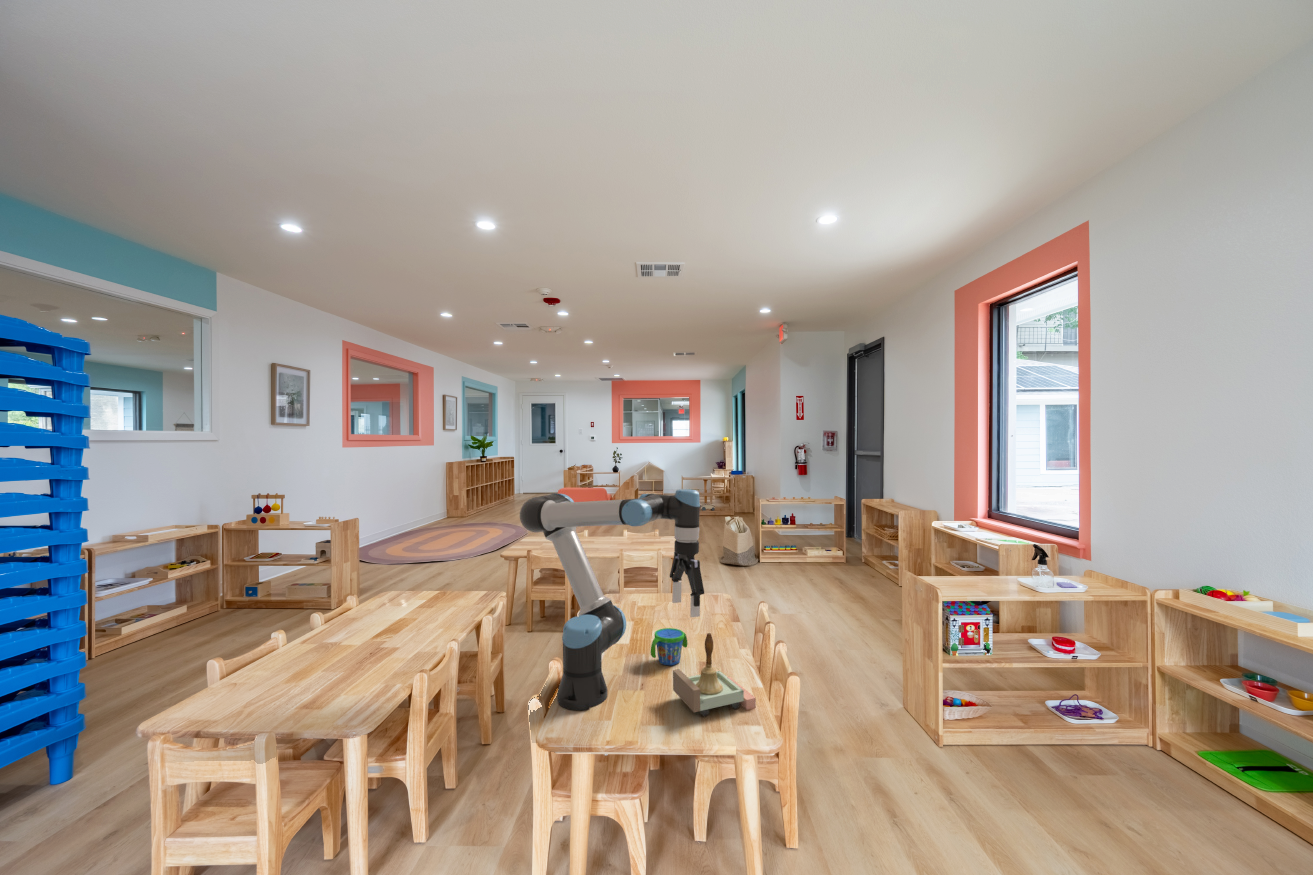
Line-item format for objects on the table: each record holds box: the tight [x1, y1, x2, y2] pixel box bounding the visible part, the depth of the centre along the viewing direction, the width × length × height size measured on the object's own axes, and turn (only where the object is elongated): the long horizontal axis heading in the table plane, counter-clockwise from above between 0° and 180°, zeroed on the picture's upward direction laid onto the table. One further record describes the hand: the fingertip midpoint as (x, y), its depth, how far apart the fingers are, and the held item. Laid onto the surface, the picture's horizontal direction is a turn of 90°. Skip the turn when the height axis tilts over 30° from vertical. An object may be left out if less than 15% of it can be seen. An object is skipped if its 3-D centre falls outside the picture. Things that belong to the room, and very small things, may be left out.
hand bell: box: [696, 632, 723, 695], centre depth 152 cm, size 8×8×16 cm
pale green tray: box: [672, 668, 744, 718], centre depth 152 cm, size 16×14×8 cm
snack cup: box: [650, 627, 688, 666], centre depth 183 cm, size 16×10×10 cm
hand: (685, 609), depth 159 cm, fingers open, 13 cm apart
